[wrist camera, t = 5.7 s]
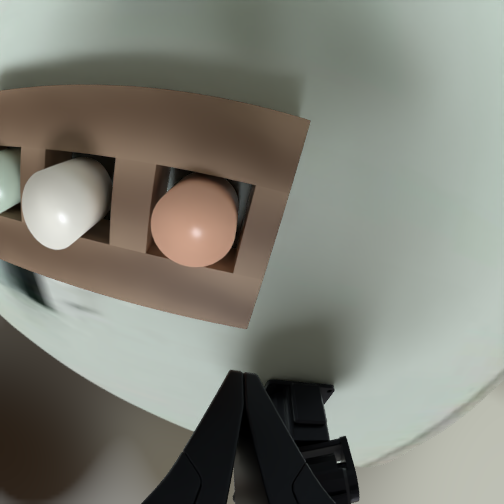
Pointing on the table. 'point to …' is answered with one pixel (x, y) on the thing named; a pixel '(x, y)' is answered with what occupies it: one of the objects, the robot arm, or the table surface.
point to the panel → (153, 189)
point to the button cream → (66, 201)
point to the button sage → (9, 177)
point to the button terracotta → (196, 220)
